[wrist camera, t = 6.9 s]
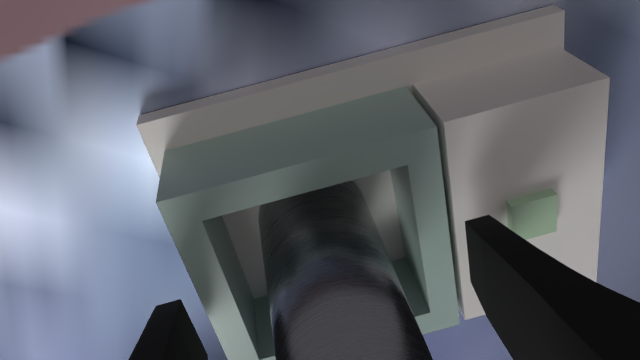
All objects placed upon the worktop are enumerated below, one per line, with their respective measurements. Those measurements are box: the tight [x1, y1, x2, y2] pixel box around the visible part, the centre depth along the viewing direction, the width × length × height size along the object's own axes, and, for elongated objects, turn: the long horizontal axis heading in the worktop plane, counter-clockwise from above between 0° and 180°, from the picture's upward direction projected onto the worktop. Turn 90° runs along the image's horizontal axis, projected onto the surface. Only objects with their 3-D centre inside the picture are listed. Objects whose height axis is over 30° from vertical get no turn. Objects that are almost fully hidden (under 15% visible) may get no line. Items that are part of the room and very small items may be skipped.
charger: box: [137, 5, 610, 360], centre depth 16 cm, size 11×8×3 cm
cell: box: [258, 180, 433, 360], centre depth 14 cm, size 3×3×8 cm
